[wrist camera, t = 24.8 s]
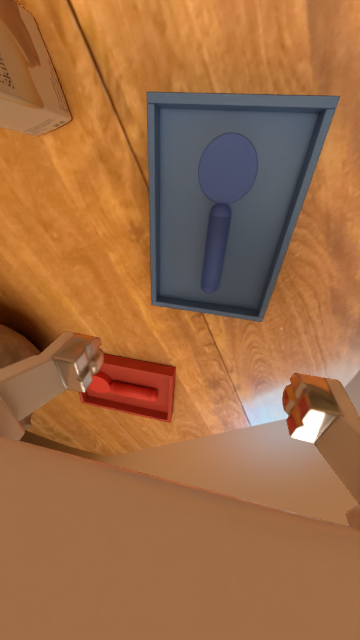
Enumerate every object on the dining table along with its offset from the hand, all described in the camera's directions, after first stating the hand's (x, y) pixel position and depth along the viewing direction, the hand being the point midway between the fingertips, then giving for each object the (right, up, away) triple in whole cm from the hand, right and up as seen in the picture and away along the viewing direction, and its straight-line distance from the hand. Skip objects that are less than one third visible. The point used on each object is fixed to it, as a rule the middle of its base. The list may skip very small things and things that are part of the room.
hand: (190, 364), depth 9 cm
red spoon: (-11, -10, +30) cm, 33 cm away
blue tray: (+3, +11, +12) cm, 17 cm away
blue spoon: (+3, +11, +12) cm, 17 cm away
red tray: (-10, -10, +30) cm, 33 cm away
